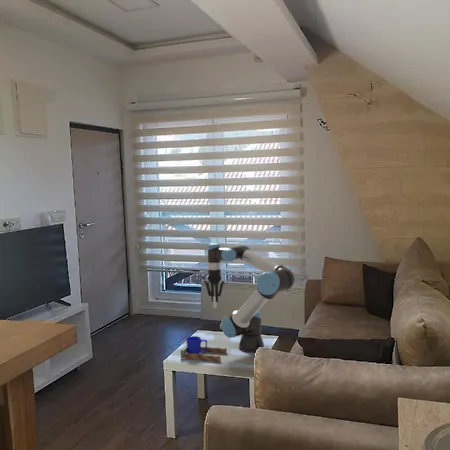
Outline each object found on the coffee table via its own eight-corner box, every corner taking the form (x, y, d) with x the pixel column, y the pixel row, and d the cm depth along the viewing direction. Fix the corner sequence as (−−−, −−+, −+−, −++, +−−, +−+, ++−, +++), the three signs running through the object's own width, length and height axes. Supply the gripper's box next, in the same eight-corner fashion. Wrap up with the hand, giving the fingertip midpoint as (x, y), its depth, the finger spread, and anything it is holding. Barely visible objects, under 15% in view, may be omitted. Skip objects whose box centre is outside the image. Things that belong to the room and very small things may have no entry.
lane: (226, 352, 278) (226, 344, 277) (219, 361, 263) (219, 353, 263) (189, 349, 284) (189, 341, 283) (180, 358, 269) (180, 350, 269)
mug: (205, 358, 269) (205, 341, 268) (185, 357, 271) (184, 340, 270) (208, 353, 277) (208, 336, 276) (188, 352, 279) (188, 335, 278)
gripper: (226, 268, 287) (226, 306, 289) (205, 267, 291) (206, 305, 293) (223, 270, 280) (223, 309, 282) (202, 269, 284) (202, 308, 285)
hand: (215, 307), depth 287 cm, fingers closed
